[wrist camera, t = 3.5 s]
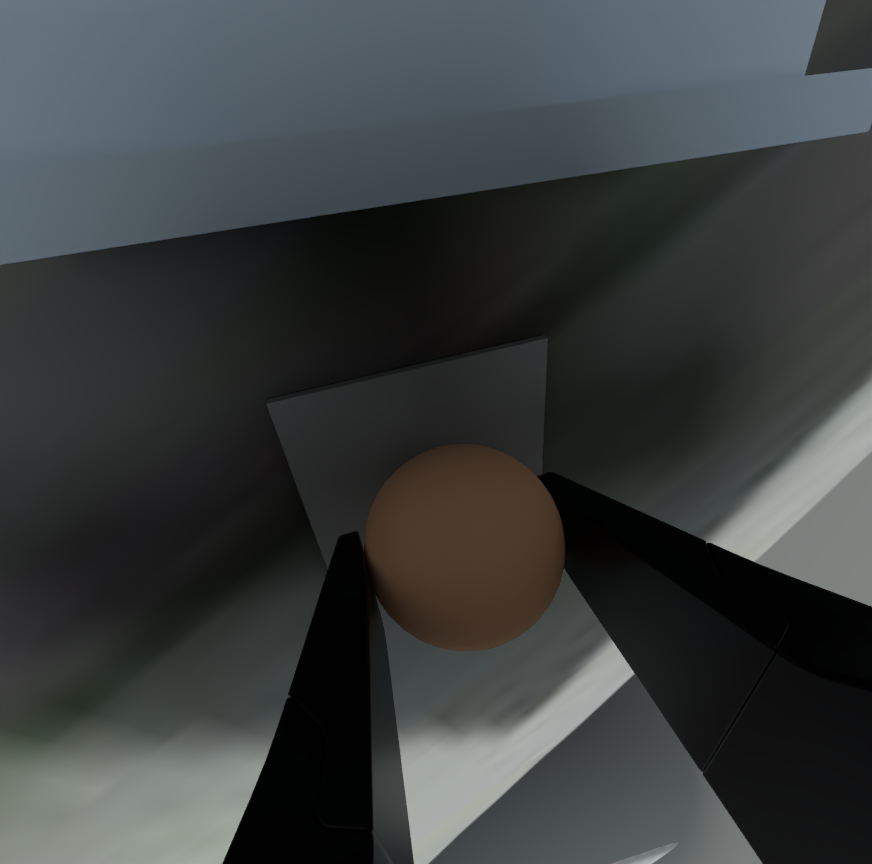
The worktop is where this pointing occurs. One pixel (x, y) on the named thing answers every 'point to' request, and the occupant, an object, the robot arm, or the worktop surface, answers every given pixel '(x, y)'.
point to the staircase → (375, 104)
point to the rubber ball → (464, 547)
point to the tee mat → (407, 426)
